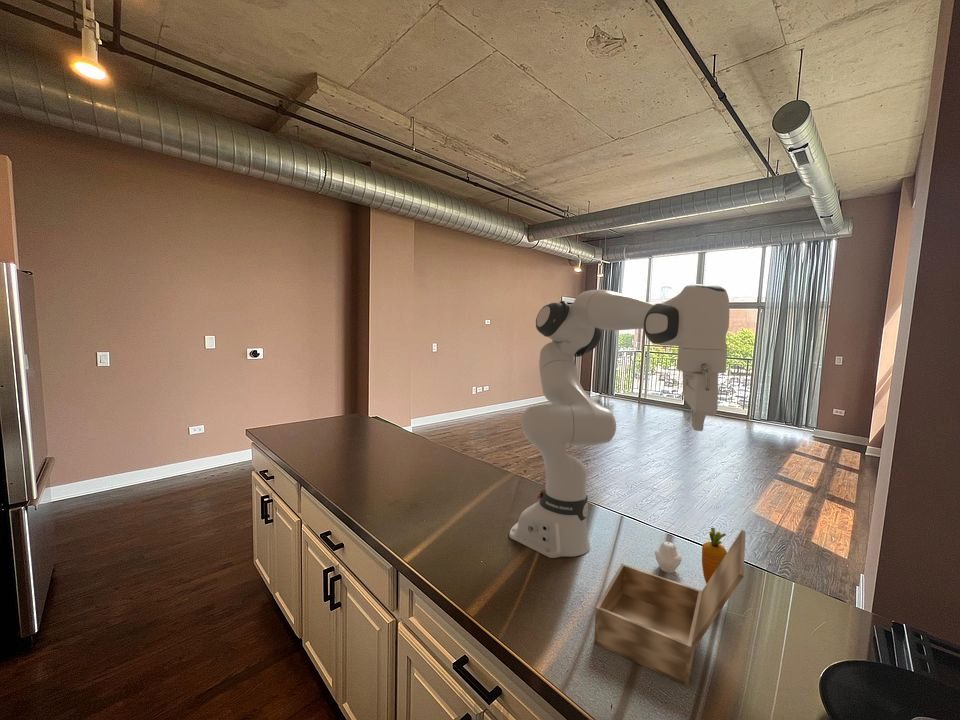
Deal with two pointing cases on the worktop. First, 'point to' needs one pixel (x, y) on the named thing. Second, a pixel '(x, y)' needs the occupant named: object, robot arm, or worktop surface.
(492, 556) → the worktop surface
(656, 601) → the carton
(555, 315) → the robot arm
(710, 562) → the carrot
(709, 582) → the lid
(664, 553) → the white rounded figure
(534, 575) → the worktop surface
